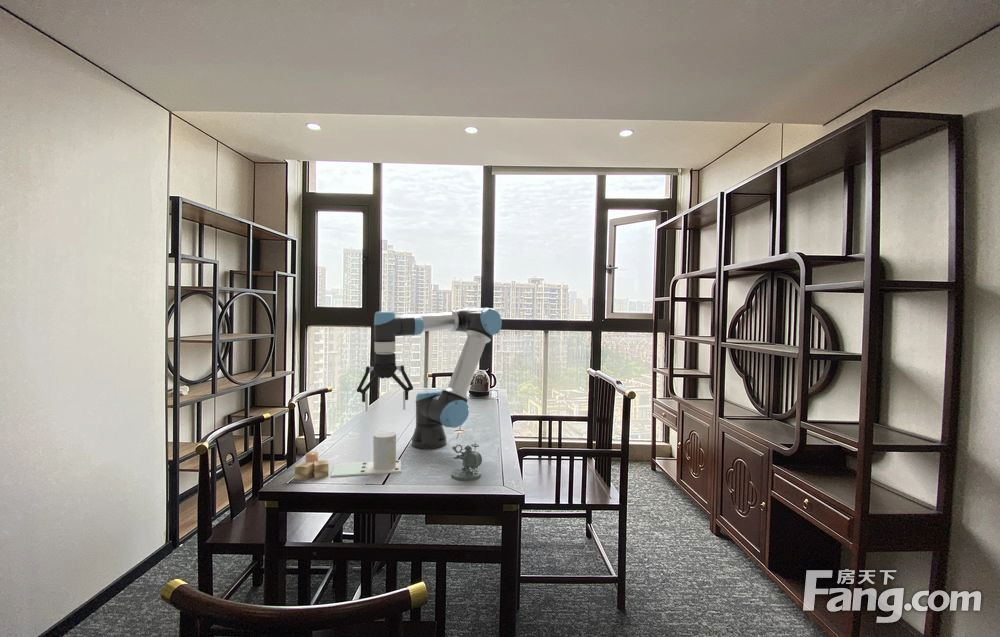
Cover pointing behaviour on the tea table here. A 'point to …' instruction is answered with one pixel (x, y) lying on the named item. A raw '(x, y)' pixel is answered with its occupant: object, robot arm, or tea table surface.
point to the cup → (384, 450)
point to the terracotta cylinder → (311, 457)
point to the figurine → (467, 464)
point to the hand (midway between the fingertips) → (385, 409)
